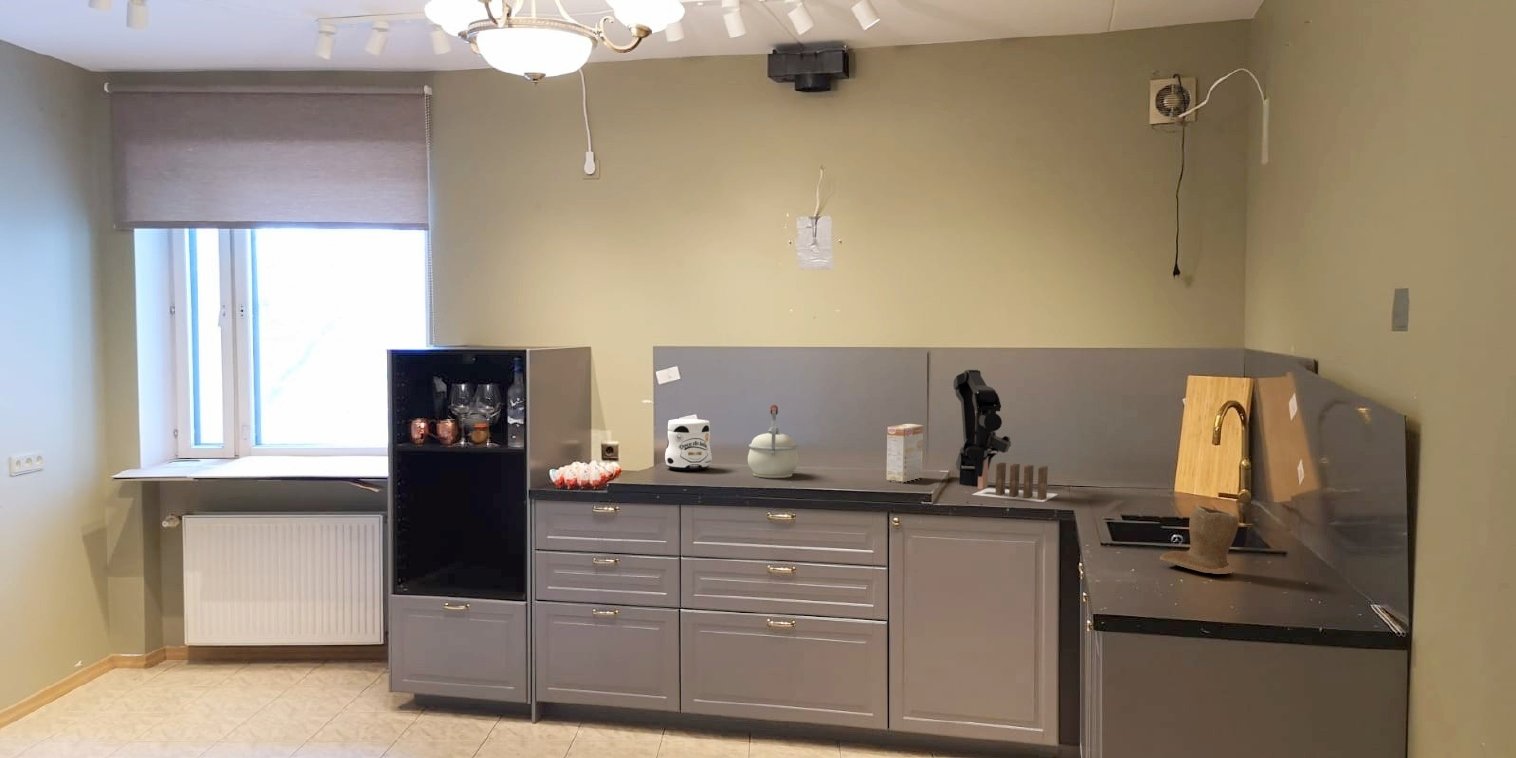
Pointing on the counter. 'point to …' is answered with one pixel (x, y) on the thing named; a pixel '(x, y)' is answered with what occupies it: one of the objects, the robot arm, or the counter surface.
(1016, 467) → the domino
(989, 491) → the domino mat
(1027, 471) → the domino
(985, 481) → the domino
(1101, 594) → the counter surface
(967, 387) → the robot arm
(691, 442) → the doce de leite jar
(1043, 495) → the domino
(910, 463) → the coffeecake box
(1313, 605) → the counter surface
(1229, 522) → the brown hat
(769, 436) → the kettle
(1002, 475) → the domino
